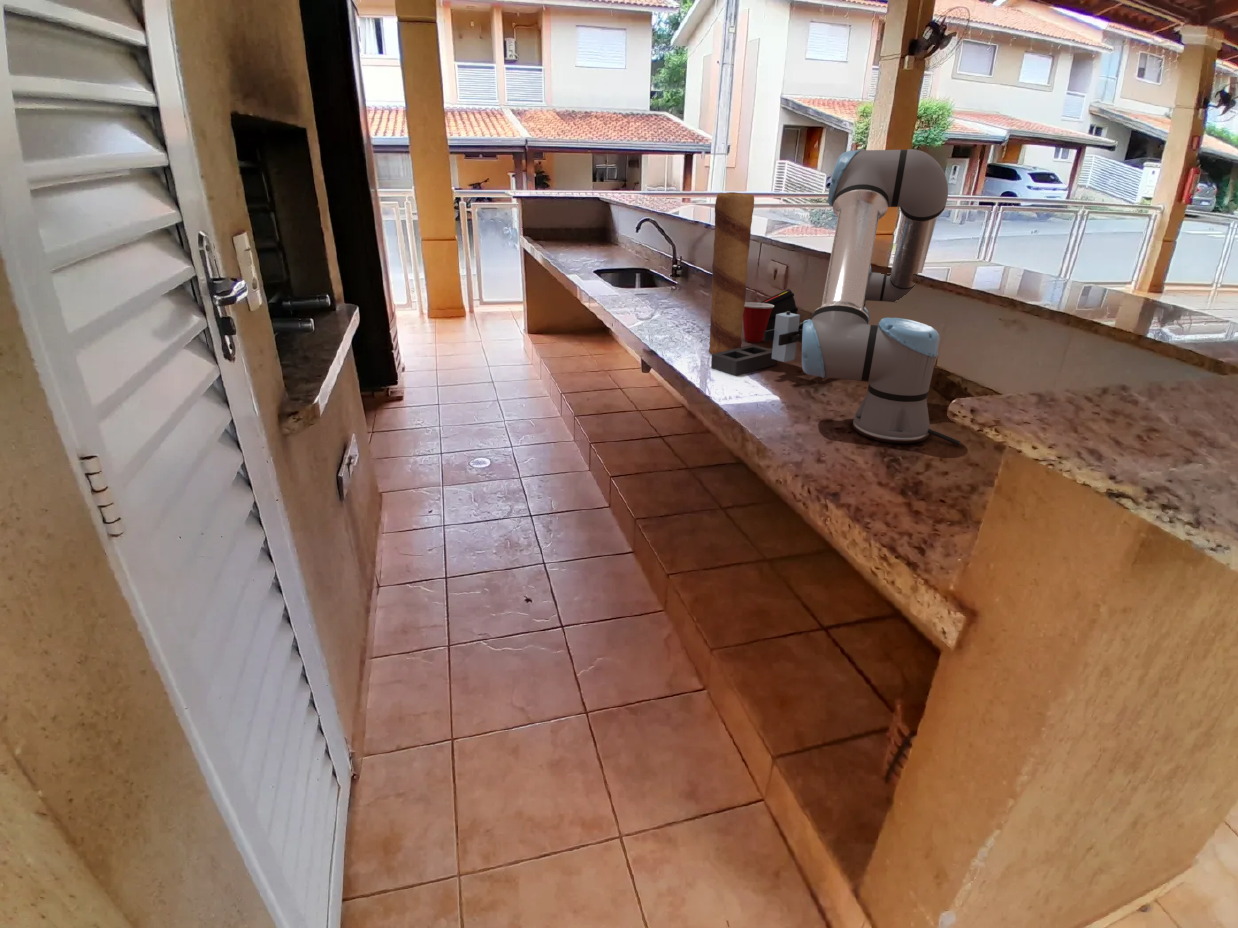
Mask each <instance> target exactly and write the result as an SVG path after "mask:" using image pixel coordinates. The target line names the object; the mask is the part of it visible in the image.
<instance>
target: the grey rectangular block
mask: <svg viewBox="0 0 1238 928" xmlns="http://www.w3.org/2000/svg"><path fill="white" fill-rule="evenodd" d="M800 320H801V314H798V313H797V314H793V313H790V311H787V312H786V313H780V314H776V320H775V330H774V339H773V340H772V348H771V350H772V359H775V360H776V361H778V362H782V363H787V362H790V361H795V359H796V353H797V352H796V351H797V343H798V341H797V342H794V343H790V344H786V345H781V346H780V345H778V343H779V335H781V334H785V333H790V332H794V331H797V332H798V328H799V323H800Z"/></svg>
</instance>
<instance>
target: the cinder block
mask: <svg viewBox="0 0 1238 928" xmlns="http://www.w3.org/2000/svg"><path fill="white" fill-rule="evenodd" d="M710 365H711V366H710V368H711V369H714V370H717V371H720V372H723V373H725V374H729V375H731V376H739V375H743V374H747V373H750V372H755V371H759V370H761V369H766V368H770V367H772V366H776V365H777V360H775V359H772V348H767V347H765V346H764V347H763V346H760V345H757V344H748V345H745V346H741V347H740V348H736V349H732V350H727V351H723V352H719V353H715V354H711V364H710Z"/></svg>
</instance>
